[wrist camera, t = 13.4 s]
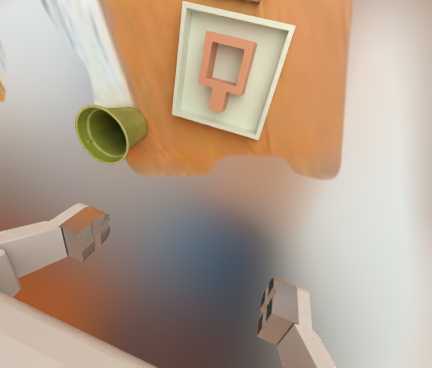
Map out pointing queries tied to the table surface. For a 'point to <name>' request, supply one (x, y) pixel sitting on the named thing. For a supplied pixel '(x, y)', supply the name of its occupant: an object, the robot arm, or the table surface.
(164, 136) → the table surface
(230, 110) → the tray
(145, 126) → the plant pot
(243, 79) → the orange frame with handle
